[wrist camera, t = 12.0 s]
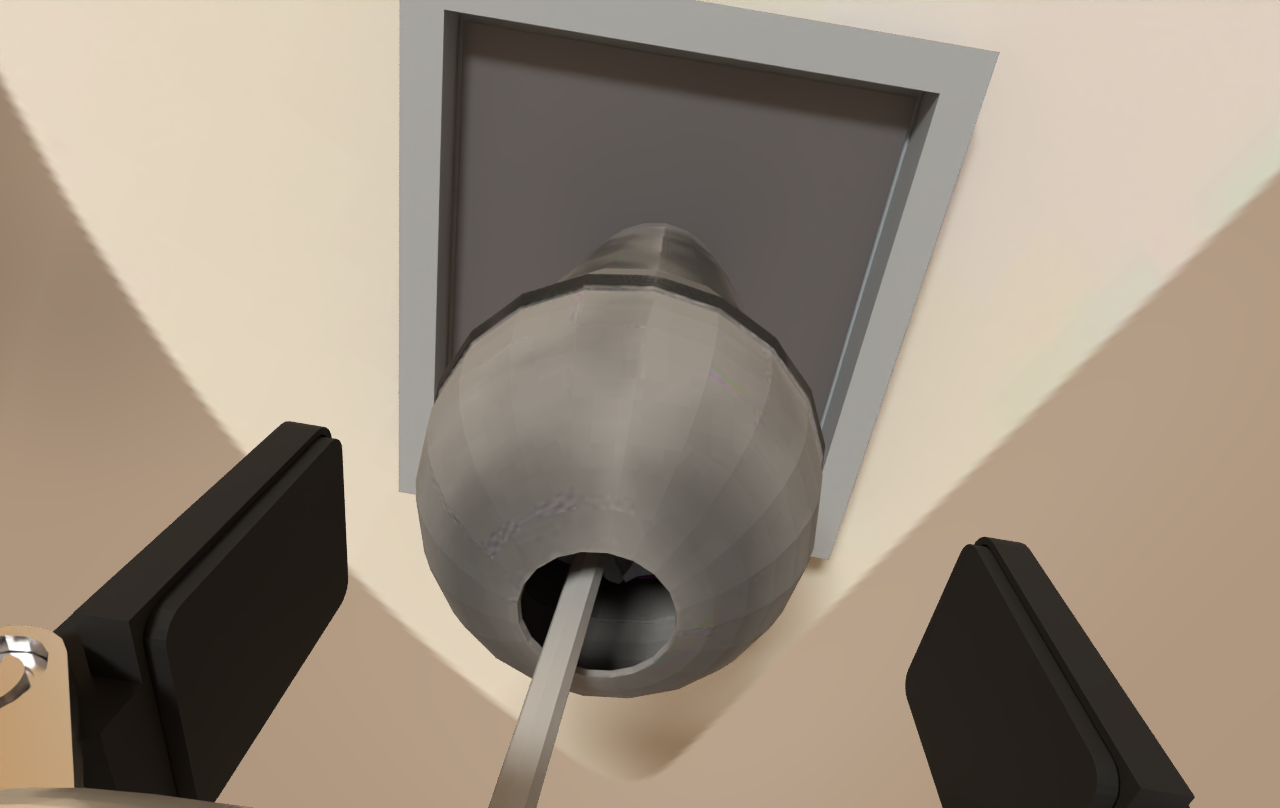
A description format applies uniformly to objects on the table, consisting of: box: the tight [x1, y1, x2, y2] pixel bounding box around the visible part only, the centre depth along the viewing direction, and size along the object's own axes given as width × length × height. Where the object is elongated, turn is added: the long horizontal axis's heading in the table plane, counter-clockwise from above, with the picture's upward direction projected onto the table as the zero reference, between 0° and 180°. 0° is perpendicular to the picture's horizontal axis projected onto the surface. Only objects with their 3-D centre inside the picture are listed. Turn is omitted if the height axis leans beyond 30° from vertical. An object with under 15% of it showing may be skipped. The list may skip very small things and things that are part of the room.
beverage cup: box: [416, 223, 825, 808], centre depth 14 cm, size 7×7×20 cm
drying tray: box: [399, 0, 1000, 559], centre depth 24 cm, size 16×17×2 cm
